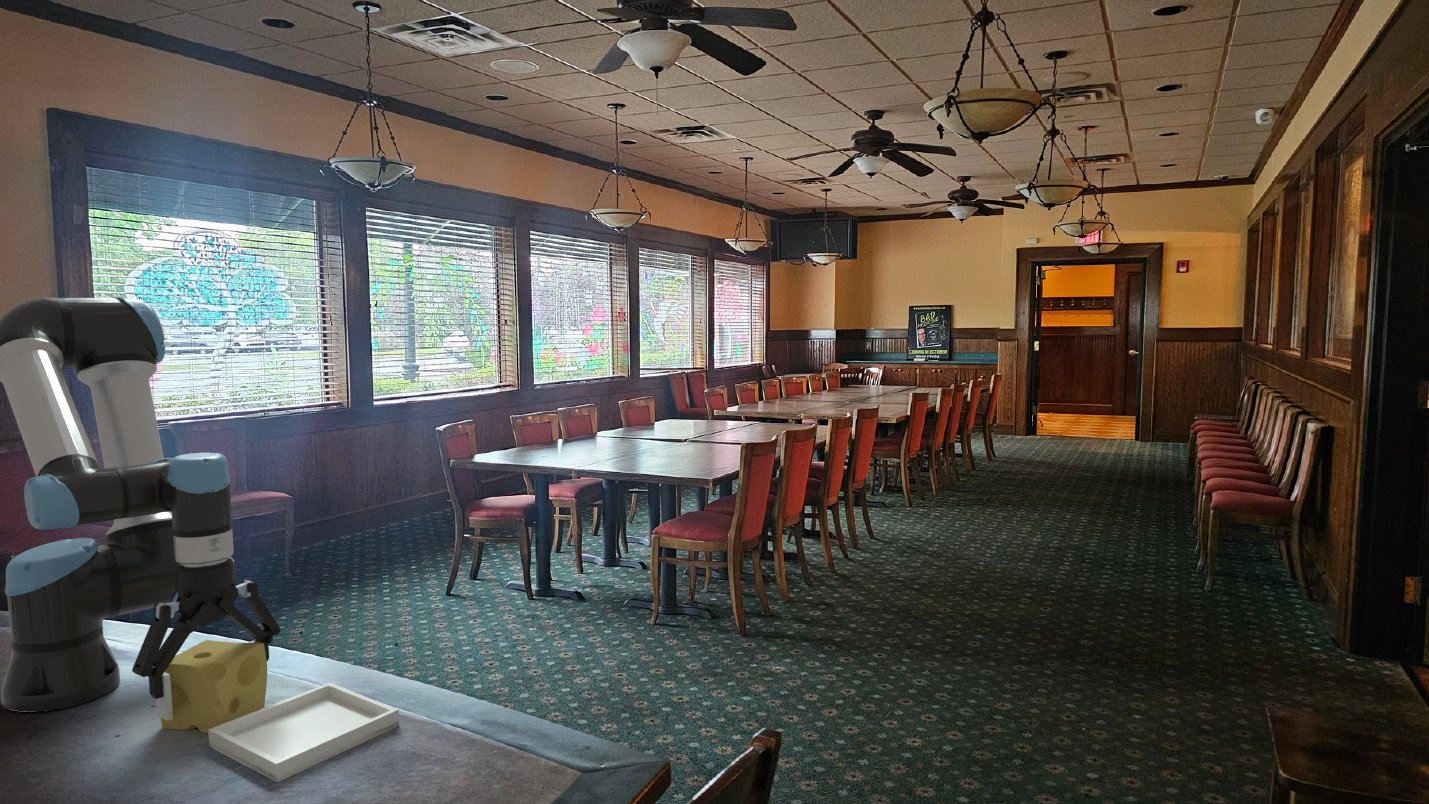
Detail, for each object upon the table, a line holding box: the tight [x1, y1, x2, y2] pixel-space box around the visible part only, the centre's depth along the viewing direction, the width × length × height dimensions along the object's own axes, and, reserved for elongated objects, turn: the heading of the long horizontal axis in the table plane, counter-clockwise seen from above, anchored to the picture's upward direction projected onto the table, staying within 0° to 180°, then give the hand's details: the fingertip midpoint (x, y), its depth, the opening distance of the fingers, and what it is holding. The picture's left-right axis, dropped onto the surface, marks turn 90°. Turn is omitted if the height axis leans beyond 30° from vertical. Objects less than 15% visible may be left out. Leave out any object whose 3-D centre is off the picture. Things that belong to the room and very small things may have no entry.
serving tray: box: [207, 682, 400, 783], centre depth 128 cm, size 17×19×2 cm
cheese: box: [159, 639, 268, 734], centre depth 134 cm, size 10×11×10 cm
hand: (214, 700), depth 134 cm, fingers open, 13 cm apart
